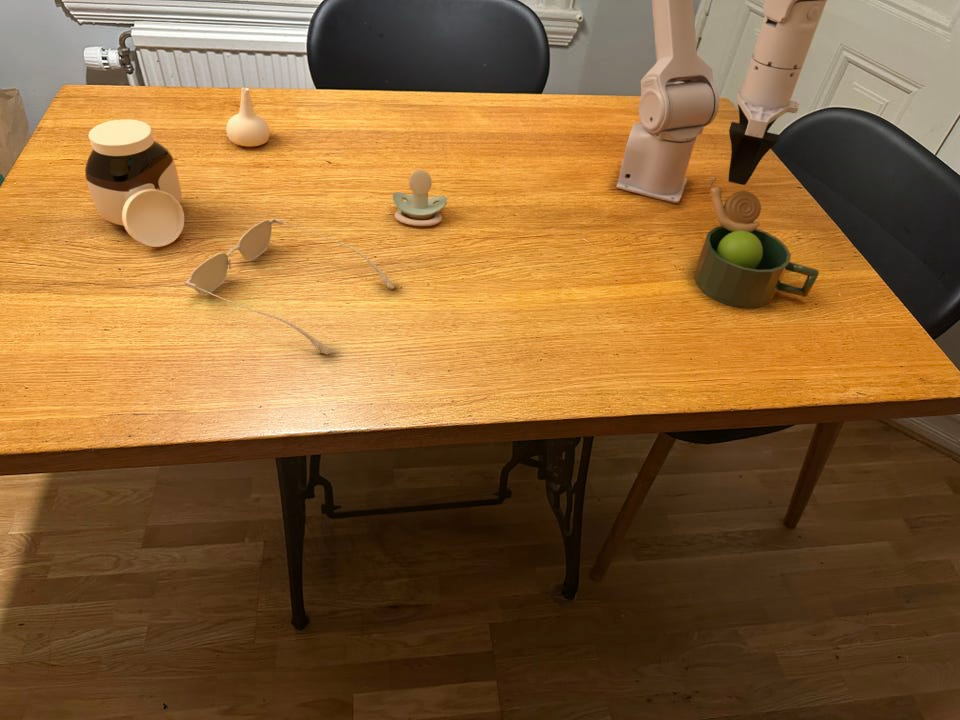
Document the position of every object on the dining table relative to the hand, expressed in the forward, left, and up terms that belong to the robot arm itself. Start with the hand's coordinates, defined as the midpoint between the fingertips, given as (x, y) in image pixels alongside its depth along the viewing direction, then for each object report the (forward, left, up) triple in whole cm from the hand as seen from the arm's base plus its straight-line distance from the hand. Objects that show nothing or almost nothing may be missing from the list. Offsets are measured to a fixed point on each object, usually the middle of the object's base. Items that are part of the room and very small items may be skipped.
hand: (740, 169), depth 89 cm
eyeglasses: (-43, -37, -11) cm, 58 cm away
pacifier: (-38, -15, -11) cm, 42 cm away
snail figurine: (+3, -11, -9) cm, 14 cm away
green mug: (+6, -10, -10) cm, 15 cm away
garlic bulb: (-70, -8, -11) cm, 72 cm away
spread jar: (-67, -33, -11) cm, 76 cm away
